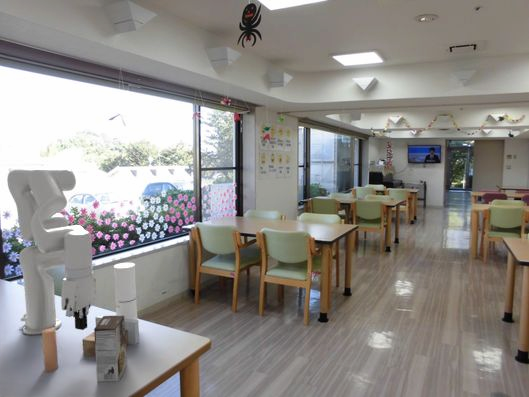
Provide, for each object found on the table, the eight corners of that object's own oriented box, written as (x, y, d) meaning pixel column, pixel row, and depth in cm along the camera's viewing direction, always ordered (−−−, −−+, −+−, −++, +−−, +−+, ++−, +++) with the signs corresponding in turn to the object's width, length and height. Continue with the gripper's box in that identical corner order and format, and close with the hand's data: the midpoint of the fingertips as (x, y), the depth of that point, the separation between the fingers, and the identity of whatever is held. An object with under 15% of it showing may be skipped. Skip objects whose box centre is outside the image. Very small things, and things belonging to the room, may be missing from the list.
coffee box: (106, 365, 122) (103, 315, 121) (127, 364, 123) (125, 314, 121) (96, 382, 113) (93, 328, 112) (119, 381, 114) (116, 327, 112)
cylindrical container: (131, 336, 141) (128, 268, 139) (113, 335, 143) (109, 267, 140) (141, 328, 148) (138, 263, 145) (124, 326, 150) (120, 262, 147)
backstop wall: (96, 338, 140) (95, 317, 139) (100, 336, 142) (99, 314, 141) (135, 344, 135) (134, 322, 134) (139, 342, 137) (138, 320, 136)
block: (83, 353, 130) (82, 339, 129) (103, 340, 139) (103, 326, 139) (109, 358, 127) (108, 343, 126) (128, 343, 136) (127, 329, 136)
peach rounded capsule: (41, 370, 120) (39, 332, 118) (51, 364, 123) (48, 327, 122) (51, 372, 119) (48, 334, 117) (60, 366, 122) (58, 329, 121)
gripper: (86, 262, 128) (88, 316, 131) (49, 277, 114) (52, 337, 117) (105, 265, 126) (107, 319, 129) (70, 281, 112) (73, 341, 115)
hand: (81, 328), depth 123 cm, fingers closed
